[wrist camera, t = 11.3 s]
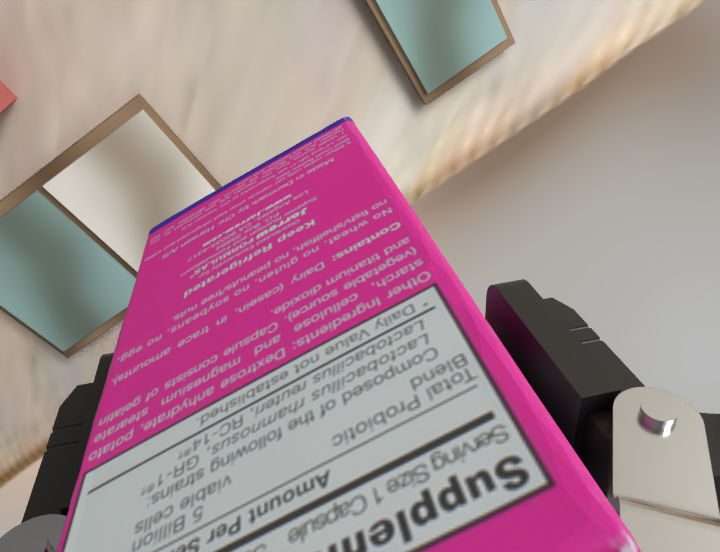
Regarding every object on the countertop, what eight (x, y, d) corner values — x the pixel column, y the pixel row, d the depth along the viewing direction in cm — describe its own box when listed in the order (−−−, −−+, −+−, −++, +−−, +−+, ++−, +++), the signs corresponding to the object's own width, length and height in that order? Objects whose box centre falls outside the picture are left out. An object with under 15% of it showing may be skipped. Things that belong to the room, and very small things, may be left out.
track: (70, 351, 31) (66, 360, 31) (-66, 250, 27) (-73, 259, 26) (509, 40, 27) (516, 43, 27) (433, -133, 23) (439, -135, 23)
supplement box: (448, 281, 16) (754, 803, 6) (268, 376, 17) (304, 979, 7) (356, 101, 13) (673, 581, 3) (140, 225, 14) (-103, 923, 4)
